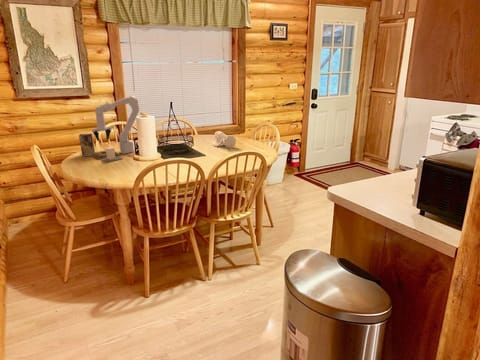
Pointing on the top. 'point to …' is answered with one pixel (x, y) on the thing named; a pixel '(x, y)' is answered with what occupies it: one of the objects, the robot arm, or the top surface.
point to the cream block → (110, 153)
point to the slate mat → (112, 159)
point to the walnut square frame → (101, 154)
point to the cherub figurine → (224, 140)
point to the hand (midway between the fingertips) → (103, 140)
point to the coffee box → (87, 144)
